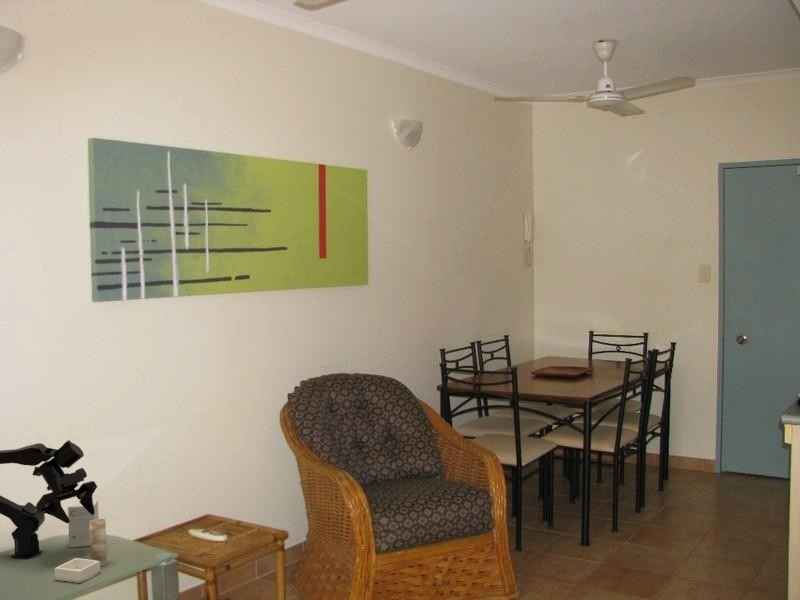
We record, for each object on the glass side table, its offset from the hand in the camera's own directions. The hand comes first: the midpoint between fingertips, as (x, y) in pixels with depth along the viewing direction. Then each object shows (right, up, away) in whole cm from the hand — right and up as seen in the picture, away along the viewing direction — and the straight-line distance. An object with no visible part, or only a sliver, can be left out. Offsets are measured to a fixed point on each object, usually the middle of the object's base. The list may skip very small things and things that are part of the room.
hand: (81, 518), depth 246 cm
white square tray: (+4, -13, -13) cm, 19 cm away
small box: (-5, -13, +16) cm, 21 cm away
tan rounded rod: (+6, -13, -3) cm, 15 cm away
